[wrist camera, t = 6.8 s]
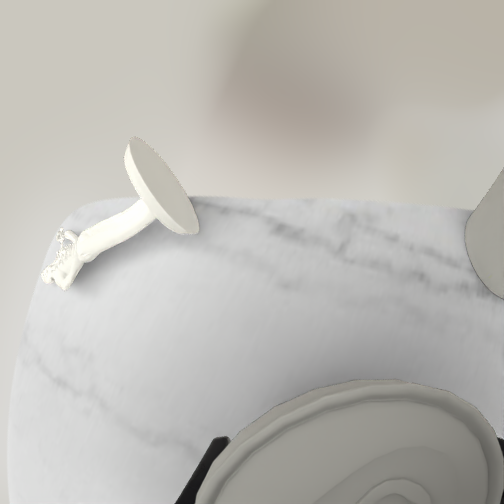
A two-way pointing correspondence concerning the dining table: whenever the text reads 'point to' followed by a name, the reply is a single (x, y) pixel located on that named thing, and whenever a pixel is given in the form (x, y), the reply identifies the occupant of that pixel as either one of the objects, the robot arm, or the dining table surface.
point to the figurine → (128, 215)
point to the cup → (488, 238)
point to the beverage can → (362, 450)
